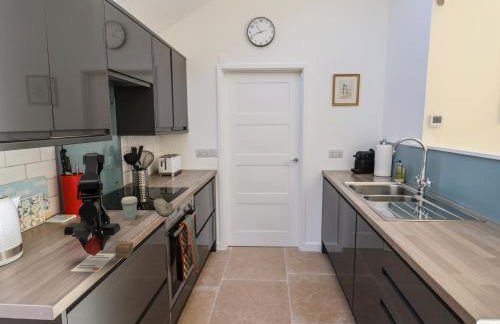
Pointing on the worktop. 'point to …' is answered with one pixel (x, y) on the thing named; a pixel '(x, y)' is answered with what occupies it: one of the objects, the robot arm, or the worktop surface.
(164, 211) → the long grey stone
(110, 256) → the letter
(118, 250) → the walnut block
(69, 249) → the worktop surface
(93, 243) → the onion
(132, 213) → the coffee cup
